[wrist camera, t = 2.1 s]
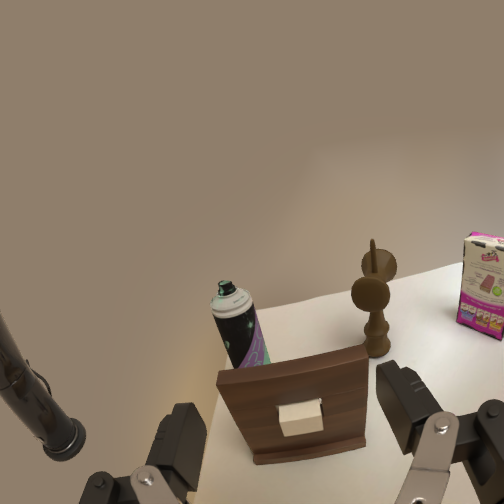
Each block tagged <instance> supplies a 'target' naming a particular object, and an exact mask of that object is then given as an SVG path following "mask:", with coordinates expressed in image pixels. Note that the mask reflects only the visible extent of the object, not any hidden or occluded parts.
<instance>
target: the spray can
mask: <svg viewBox="0 0 504 504" xmlns="http://www.w3.org/2000/svg"><path fill="white" fill-rule="evenodd" d="M218 285H219V290H218V292H217V295H216V296H215V297H214V298H213V299H212V300H211V302H210V306H211V311H212V314H213V316H214V319H215V322H216V324H217V327H218V330H219V332H220V334H221V337H222V340H223V342H224V345H225V348H226V349H227V352H228V355H229V358H230V360H231V362H232V365H233V367H234V369H238V368H245V367H252V366H259V365H265V364H271V362H270V358H269V355H268V352H267V348H266V345H265V342H264V338H263V335H262V331H261V328H260V325H259V321H258V318H257V314H256V311H255V308H254V304H253V301H252V298H251V296H250V293H249V291H247V290H245V289H240V288H238V287H236V286H234V285H233V284H232V282H231V281H221V282H219V283H218Z"/></svg>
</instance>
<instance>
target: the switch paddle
mask: <svg viewBox="0 0 504 504" xmlns="http://www.w3.org/2000/svg"><path fill="white" fill-rule="evenodd" d="M279 423H280V425H281V428H282V431H283V434H284V436H292V435H299V434H305V433H311V432H316V431H321V430H323V422H322V415H321V409H320V403H319V398H316V399H311V400H306V401H301V402H295V403H289V404H283V405H279Z"/></svg>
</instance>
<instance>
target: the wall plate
mask: <svg viewBox="0 0 504 504" xmlns="http://www.w3.org/2000/svg"><path fill="white" fill-rule="evenodd" d="M368 372H369V356H368V354H367V352H366V349H365V347H364V345H363V344H360V345H356V346H352V347H348V348H344V349H340V350H336V351H332V352H327V353H323V354H318V355H314V356H309V357H304V358H299V359H294V360H289V361H283V362H277V363H271V364H265V365H259V366H252V367H245V368H238V369H230V370H222V371H219V372H218V377H217V382H216V386H217V388H218V390H219V392H220V394H221V396H222V398H223V400H224V402H225V404H226V405H227V407H228V409H229V411H230V413H231V415H232V417H233V419H234V421H235V422H236V424H237V426H238V428H239V430H240V432H241V433H242V435H243V437H244V439H245V440H246V442H247V444H248V446H249V447H250V449H251V451H252V452H253V454H254V458H253V461H254V462H255V464H256V465H263V464H274V463H283V462H291V461H299V460H305V459H311V458H317V457H323V456H328V455H333V454H337V453H342V452H346V451H350V450H354V449H358V448H362V447H365V446H366V439H365V425H366V413H367V398H368ZM316 398H321V400H322V404H320V409H321V415H322V422H323V430H321V431H316V432H311V433H305V434H299V435H292V436H284V434H283V431H282V428H281V425H280V423H279V405H283V404H289V403H295V402H301V401H306V400H311V399H316Z"/></svg>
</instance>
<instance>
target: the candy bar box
mask: <svg viewBox="0 0 504 504" xmlns="http://www.w3.org/2000/svg"><path fill="white" fill-rule="evenodd" d="M463 255H464V256H463V271H462V282H461V292H460V300H459V307H458V313H457V319H456V322H458V323H460V324H463V325H465V326H468V327H470V328H473V329H475V330H477V331H480V332H482V333H485V334H487V335H490V336H492V337H495V338H497V339H500V340H502V339H503V337H504V238H502V237H497V236H493V235H488V234H483V233H478V232H472V233H471V234H470V235H469V236H468V237H467V238H466V239H465V240H464V254H463Z"/></svg>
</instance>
